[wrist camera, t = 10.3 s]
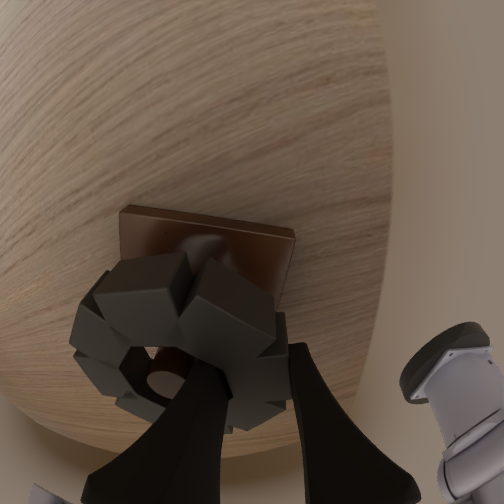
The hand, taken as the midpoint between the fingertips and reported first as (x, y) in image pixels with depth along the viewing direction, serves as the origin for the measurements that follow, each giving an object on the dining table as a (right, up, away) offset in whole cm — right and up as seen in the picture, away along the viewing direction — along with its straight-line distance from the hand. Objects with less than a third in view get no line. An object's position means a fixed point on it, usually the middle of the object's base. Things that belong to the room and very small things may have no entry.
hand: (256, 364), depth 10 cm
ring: (-3, 0, +2) cm, 4 cm away
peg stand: (-3, +2, +6) cm, 7 cm away
